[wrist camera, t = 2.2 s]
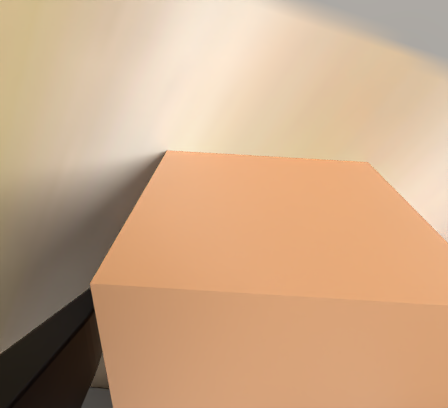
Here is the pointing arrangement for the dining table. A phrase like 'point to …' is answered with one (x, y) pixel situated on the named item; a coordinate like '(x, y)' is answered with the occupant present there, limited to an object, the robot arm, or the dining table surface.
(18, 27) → the dining table surface
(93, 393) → the baseplate
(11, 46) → the dining table surface
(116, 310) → the brick bottom
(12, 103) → the dining table surface
